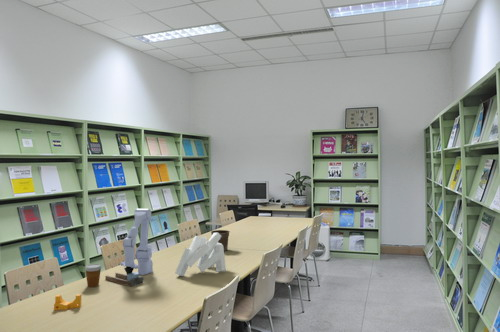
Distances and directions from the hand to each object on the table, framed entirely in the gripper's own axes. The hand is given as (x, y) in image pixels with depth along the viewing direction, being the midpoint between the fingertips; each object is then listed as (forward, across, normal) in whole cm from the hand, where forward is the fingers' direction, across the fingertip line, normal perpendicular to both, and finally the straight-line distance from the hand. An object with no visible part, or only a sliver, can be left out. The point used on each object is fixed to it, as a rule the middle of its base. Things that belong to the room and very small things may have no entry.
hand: (129, 278), depth 240 cm
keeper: (+3, +3, 0) cm, 4 cm away
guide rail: (+3, -6, 0) cm, 6 cm away
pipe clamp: (+3, +8, -45) cm, 46 cm away
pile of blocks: (+3, +24, +43) cm, 50 cm away
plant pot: (+3, -8, +103) cm, 103 cm away
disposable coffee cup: (+3, -14, -16) cm, 21 cm away
